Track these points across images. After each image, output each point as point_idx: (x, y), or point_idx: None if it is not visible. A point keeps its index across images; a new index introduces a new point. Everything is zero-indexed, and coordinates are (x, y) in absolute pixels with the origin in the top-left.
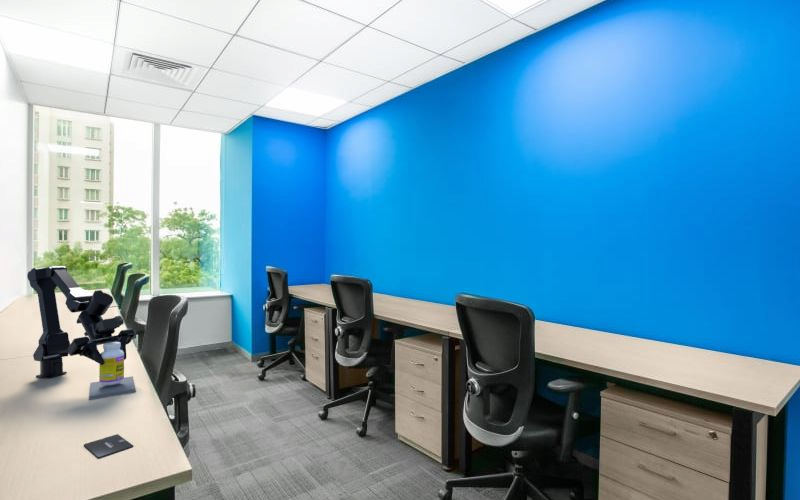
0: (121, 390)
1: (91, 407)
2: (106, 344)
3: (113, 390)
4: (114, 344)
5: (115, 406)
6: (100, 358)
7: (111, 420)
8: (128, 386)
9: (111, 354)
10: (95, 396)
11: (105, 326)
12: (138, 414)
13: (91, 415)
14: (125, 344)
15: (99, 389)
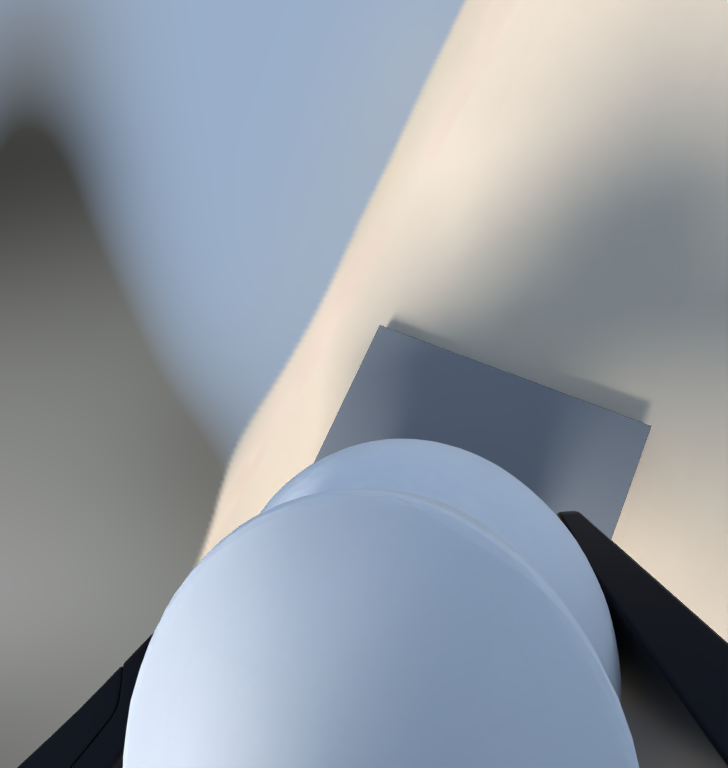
0: (447, 365)
1: (677, 262)
2: None
3: (479, 413)
4: (378, 522)
5: (572, 176)
6: (637, 569)
7: (667, 7)
8: (378, 413)
9: (479, 473)
10: (605, 410)
11: None
12: (548, 2)
13: (720, 133)
14: (27, 763)
15: None
